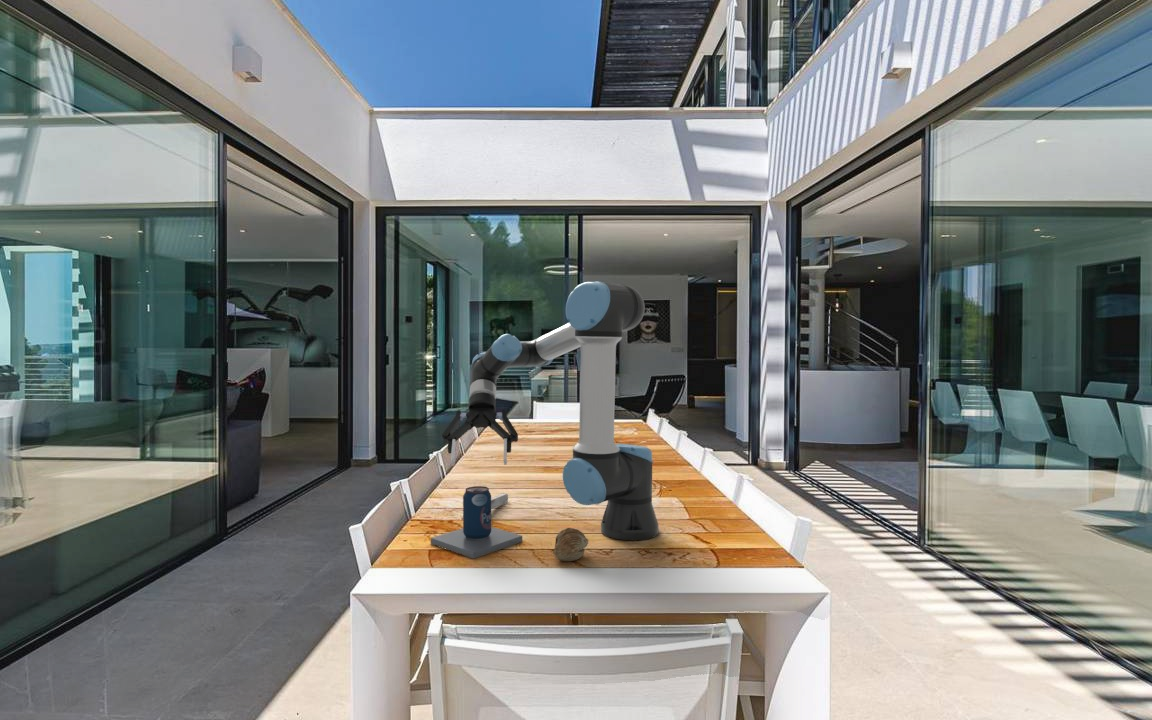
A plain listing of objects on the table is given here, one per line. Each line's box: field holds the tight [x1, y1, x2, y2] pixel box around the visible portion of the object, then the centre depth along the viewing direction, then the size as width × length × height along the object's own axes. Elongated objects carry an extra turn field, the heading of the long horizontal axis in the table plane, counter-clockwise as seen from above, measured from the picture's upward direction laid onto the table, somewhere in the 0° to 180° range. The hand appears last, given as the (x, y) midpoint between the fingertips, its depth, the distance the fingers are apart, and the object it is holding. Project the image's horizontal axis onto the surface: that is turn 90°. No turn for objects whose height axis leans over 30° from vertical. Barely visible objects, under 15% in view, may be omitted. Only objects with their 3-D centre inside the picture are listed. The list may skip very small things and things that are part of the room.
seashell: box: [553, 527, 589, 562], centre depth 143 cm, size 9×7×8 cm
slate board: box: [430, 526, 523, 559], centre depth 153 cm, size 16×16×2 cm
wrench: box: [491, 493, 509, 510], centre depth 178 cm, size 8×2×30 cm
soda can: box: [462, 485, 492, 540], centre depth 153 cm, size 7×7×12 cm
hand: (478, 462), depth 160 cm, fingers open, 13 cm apart
